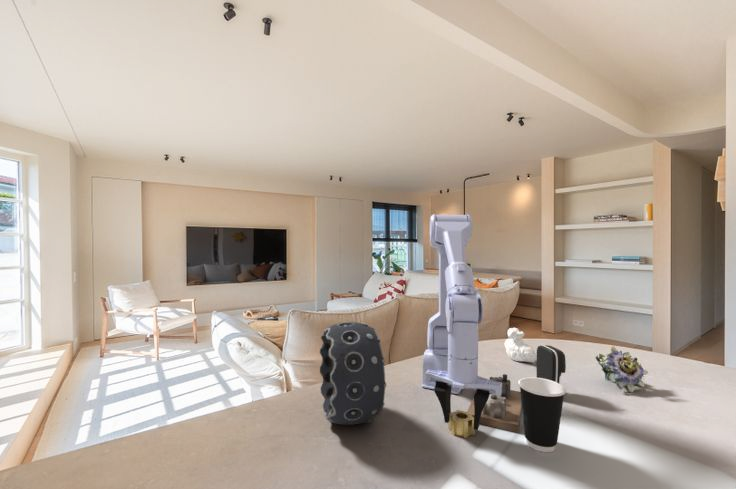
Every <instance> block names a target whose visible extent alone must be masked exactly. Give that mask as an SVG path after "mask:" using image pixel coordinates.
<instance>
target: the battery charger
mask: <svg viewBox="0 0 736 489" xmlns="http://www.w3.org/2000/svg"><path fill="white" fill-rule="evenodd" d="M535 362H536V366H535V367H536V378H543V379H548V380H551V381H554V382H557V383H559V384H560V380H561V376H562V374H565V373H566V368H567V366H566V364H567V361H566V355H565V353H564V351H562V350H561V349H559V348H557V347H555V346H553V345H552V346H551V345H549V344H547V345H546V344H545V345H544V344H543V345H542V344H540V345H538V346H537V348H536V360H535Z"/></svg>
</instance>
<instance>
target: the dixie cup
mask: <svg viewBox="0 0 736 489" xmlns="http://www.w3.org/2000/svg"><path fill="white" fill-rule="evenodd" d="M517 383H518V384H517V385H518V386H519V390H520V391H519V392H521V403H522V409H521V414H522V420H523V421H522V422H523V431H524V432H523V433H524V438H525V442H526V444H527V446H528V447H530V448H532V449H533V450H535V451H539V452H541V453H542V452H543V453H552V452H554V451H555V450H556V446H557V444H558V438H559V431H560V426H561V425H560V424H561V417H562V410H563V405H564V396H565V394H566V393H567V389H566V388H565V386H564V385H562V384H561V383H560V382H559V383H557V382H554V381H551V380H548V379H543V378H537V377H536V376H535V377H532V376H531V377H524V378H521V379H519V380H518V382H517Z"/></svg>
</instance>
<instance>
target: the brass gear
mask: <svg viewBox="0 0 736 489" xmlns="http://www.w3.org/2000/svg"><path fill="white" fill-rule="evenodd" d="M448 429H449V430H451V435H452V436H459V437H463V438H464V439H468V438H469V437H470V436H472V435H473V436H476V435H475V434H476V430H475V429H474V418H473V417H472V413H470V412H467V411H463V410H460V409H456V410H455V411H451V412H450V413H449V422H448Z"/></svg>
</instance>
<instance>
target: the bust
mask: <svg viewBox="0 0 736 489" xmlns="http://www.w3.org/2000/svg"><path fill="white" fill-rule="evenodd" d="M506 334H507V337H508V338H507V339H505V342H504V343H503V345H504V347H505V350H506V351H505V354H507V356H508V357H509V358H510V359H511V360H512V361H516V362H525V363H531V364H532V363H535V362H536V358H537V352H535V349H534V347H533V346H531V345H528V344H527V343H525V341H524V340H523V337H524V336H525V333H524V331H523V330H522V331H520V329H519V328H516V327H510V328H509V329H507V333H506Z"/></svg>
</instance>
